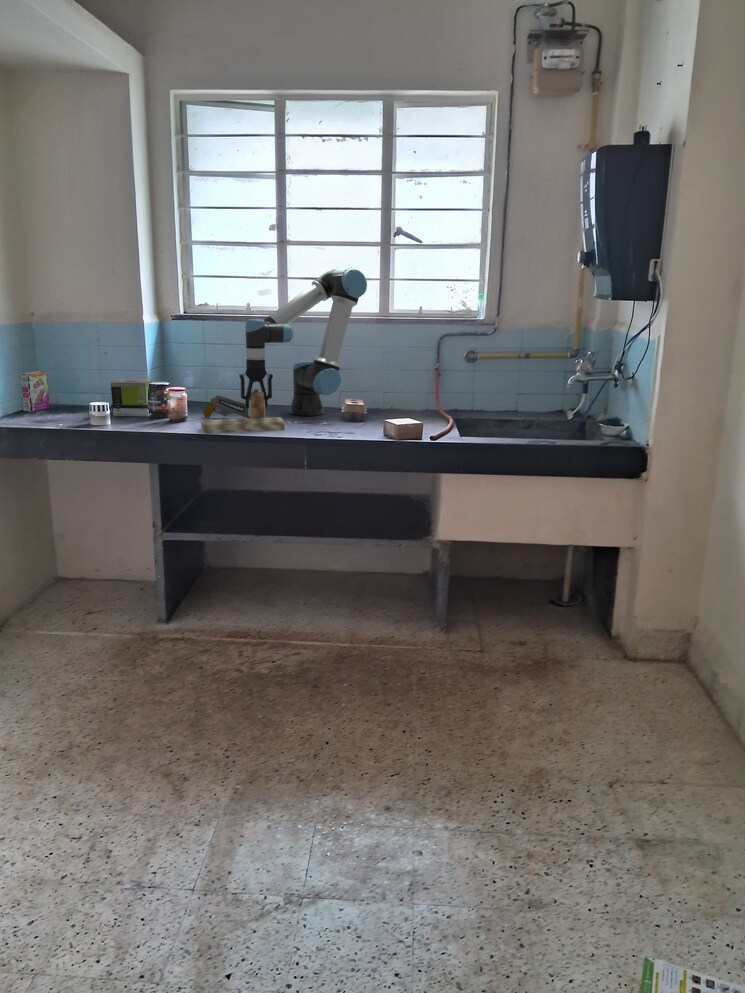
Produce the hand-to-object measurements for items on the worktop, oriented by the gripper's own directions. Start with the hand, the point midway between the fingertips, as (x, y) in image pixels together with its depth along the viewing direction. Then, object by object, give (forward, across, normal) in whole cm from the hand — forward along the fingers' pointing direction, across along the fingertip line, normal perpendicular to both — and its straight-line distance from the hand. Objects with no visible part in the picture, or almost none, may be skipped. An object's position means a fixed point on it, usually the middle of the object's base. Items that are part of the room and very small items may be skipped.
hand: (256, 415), depth 301 cm
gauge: (+1, 0, +4) cm, 4 cm away
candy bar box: (+5, +88, -51) cm, 102 cm away
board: (+4, +7, +8) cm, 11 cm away
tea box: (+4, +48, -32) cm, 58 cm away
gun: (+4, +7, -15) cm, 17 cm away
